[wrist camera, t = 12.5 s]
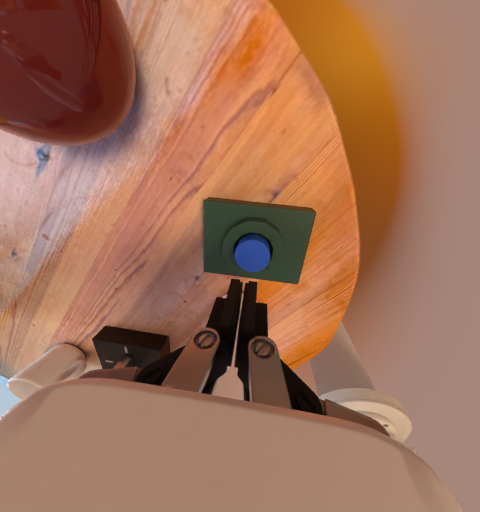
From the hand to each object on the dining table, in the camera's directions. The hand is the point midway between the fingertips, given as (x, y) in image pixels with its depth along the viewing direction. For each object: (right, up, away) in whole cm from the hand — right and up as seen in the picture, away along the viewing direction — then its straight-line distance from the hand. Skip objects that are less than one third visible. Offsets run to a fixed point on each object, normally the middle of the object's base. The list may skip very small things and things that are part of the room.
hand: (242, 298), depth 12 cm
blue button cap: (+1, +3, +8) cm, 9 cm away
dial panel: (-19, -15, +24) cm, 34 cm away
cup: (-33, -17, +27) cm, 46 cm away
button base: (+2, +5, +12) cm, 13 cm away
